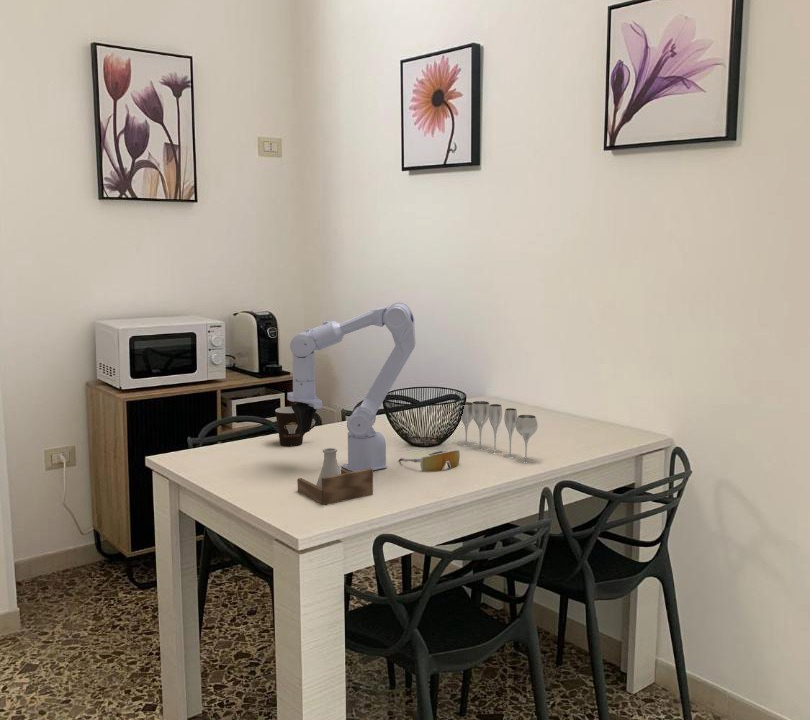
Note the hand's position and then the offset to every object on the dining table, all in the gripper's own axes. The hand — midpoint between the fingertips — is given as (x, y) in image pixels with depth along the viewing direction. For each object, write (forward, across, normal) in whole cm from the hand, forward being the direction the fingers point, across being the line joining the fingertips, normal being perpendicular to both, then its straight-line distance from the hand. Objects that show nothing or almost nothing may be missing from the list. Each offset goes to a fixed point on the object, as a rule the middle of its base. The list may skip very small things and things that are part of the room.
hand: (305, 431), depth 214 cm
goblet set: (+10, +19, +50) cm, 54 cm away
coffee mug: (+10, -22, +10) cm, 26 cm away
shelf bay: (+9, +22, -5) cm, 25 cm away
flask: (+10, +21, -5) cm, 23 cm away
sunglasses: (+10, +17, +28) cm, 34 cm away
